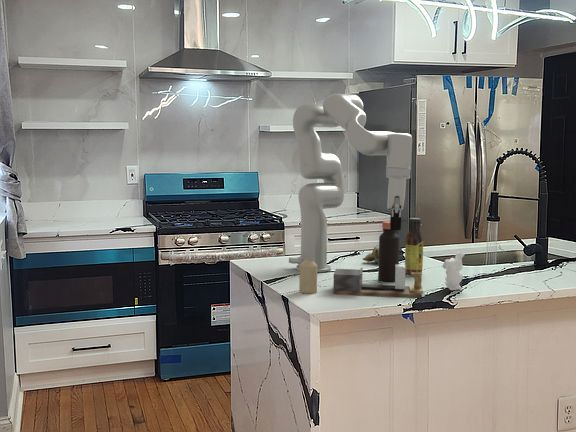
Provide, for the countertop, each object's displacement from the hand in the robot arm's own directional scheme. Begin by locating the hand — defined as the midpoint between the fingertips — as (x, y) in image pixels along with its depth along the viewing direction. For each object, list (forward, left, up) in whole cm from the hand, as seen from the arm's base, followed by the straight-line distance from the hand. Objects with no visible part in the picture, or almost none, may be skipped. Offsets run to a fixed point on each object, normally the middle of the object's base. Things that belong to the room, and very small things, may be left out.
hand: (395, 227), depth 212 cm
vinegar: (-2, +16, -21) cm, 26 cm away
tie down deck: (-5, -2, -20) cm, 21 cm away
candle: (-27, -6, -21) cm, 34 cm away
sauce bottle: (+7, +29, -21) cm, 36 cm away
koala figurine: (+19, +6, -21) cm, 29 cm away
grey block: (-3, -2, -19) cm, 19 cm away
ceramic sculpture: (-4, +47, -21) cm, 51 cm away
